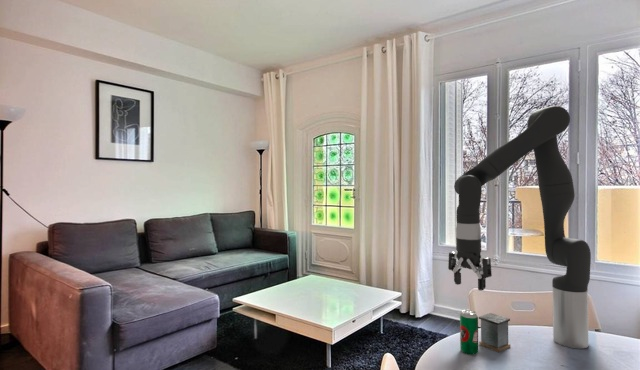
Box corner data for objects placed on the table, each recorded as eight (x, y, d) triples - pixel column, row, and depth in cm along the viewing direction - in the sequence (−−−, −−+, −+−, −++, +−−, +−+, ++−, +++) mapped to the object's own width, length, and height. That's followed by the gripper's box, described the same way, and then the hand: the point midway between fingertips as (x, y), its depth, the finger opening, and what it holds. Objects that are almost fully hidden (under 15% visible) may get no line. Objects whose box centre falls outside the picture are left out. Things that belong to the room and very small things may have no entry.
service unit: (490, 340, 117) (490, 312, 117) (510, 347, 112) (510, 318, 112) (479, 344, 114) (478, 316, 114) (498, 352, 108) (498, 323, 108)
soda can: (477, 357, 105) (476, 316, 106) (459, 353, 108) (458, 313, 108) (479, 350, 110) (478, 310, 110) (461, 346, 112) (461, 308, 112)
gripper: (495, 238, 112) (496, 290, 112) (457, 233, 124) (458, 280, 124) (481, 240, 108) (482, 294, 108) (442, 235, 121) (443, 284, 120)
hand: (469, 287), depth 116 cm, fingers open, 8 cm apart
